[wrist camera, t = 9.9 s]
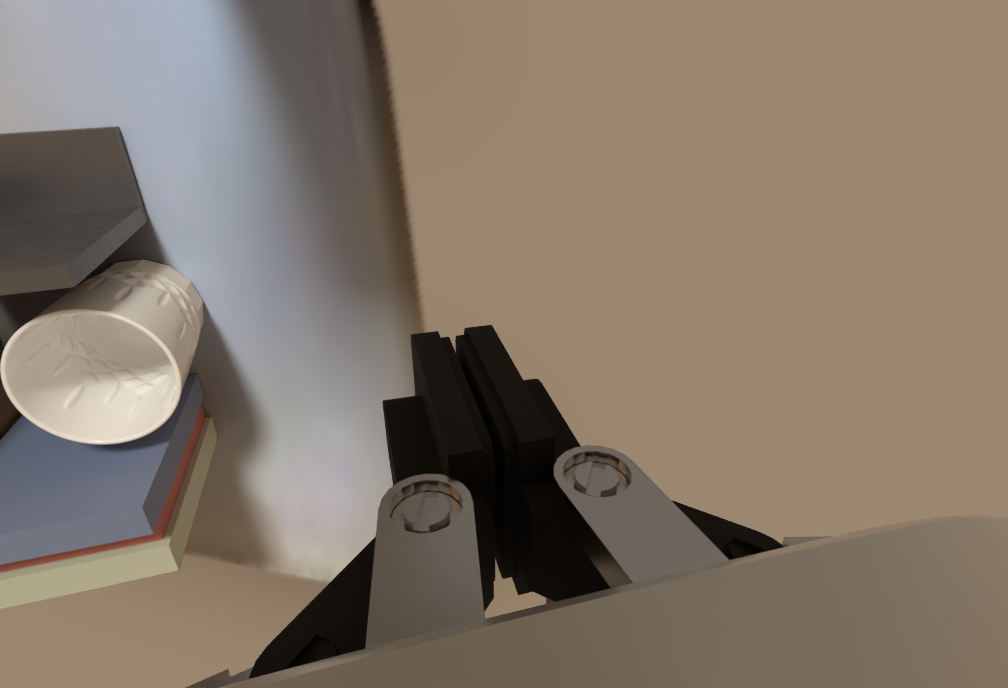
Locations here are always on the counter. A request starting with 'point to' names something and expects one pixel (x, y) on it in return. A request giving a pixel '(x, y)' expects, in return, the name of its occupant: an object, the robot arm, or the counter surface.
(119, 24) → the counter surface
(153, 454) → the book row
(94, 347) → the white cup
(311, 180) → the counter surface
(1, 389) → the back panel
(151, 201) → the counter surface
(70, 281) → the bookend
